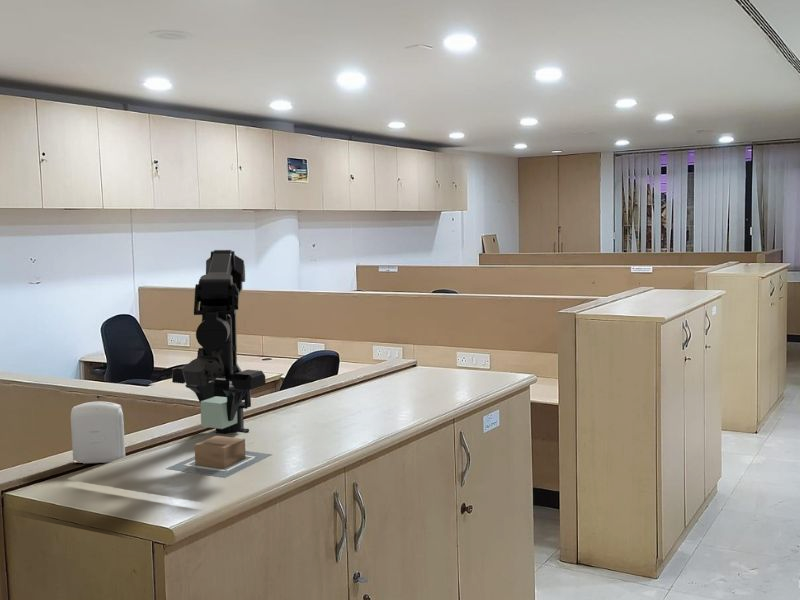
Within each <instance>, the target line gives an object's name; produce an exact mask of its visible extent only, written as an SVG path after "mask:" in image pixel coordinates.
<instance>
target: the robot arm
mask: <svg viewBox="0 0 800 600" xmlns="http://www.w3.org/2000/svg"><path fill="white" fill-rule="evenodd" d="M245 282H246V266H245V262H244V259H242V258H241V257H239V256H237V255H236V254H235V251H234V250H232V249H215V250H212V251H210V257H209V258H207V259H206V261H205V274H204V275H201V276H200V278H199V280H198V283H196V284H195V286H194V301H193V302H194V303H193V315H194V316H201V322H200V323H199V325H198V326H197V327H196V331H195V338H196V340H197V343H198V344H199V346H200V347H198V348H197V349H198V350H197V356H196V358H194V359H192V360H191V361H190V362H189V363H186V365H183V366H178V367H176V368H174V370H173V371H172V372H171V381H172V384H173V383H174V384H185V388H187V389H189V390H191V392H193V393H194V394H195V396H196V398H197V399H198V402H199V405H201V403H200V401H203V400H206V399H209V398H212V397H215V396H219V397H227V416H228V421H232V420H233V419H234V416H235V414H236V412H237V423H236V424H233V425H231V426H228V427H226V428H223V429H218V428H215V434H219V435H226V434H227V435H228V434H232V433H233V434H234V433H243V434H245V433H249V432H250V428H245V426H244V425H245V424H244V422H245V421H244V409H245V410H246V409H248V408H251V407H252V398H251V397H252V396H251V390H253V389H256V388H260V387H262V386H265V385H266V384H267V383H266V375H265V373H264V372H263V371H262V370H257V369H245V370H241V368H240V366H239V365H238V345H237V344H238V343H237V342H238V341H237V335H238V333H237V311H238V310H239V303H240V302H239V301H240V294H241V293H242V290H243V283H245Z"/></svg>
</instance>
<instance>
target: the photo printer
mask: <svg viewBox="0 0 800 600" xmlns="http://www.w3.org/2000/svg"><path fill="white" fill-rule="evenodd" d="M124 423H125V422H124V413H123V407H122V405H121V404H118V403H116V402H112V401H111V402H109V401H100V400H99V401H97V400H96V401H88V402H84V403H81V404H78V405H75V406H73V408H71V412H70V427H71V428H70V430H71V433H70V434H71V445H72V446H71V447H72V448H71V450H72V460H76V461H79V462H81V463H83V464H98V463H99V464H100V463H101V464H102V463H113V462H115V461H117V460H118V461H119V460H120V459H123V458H125V457H126V441H125V427H124V426H125V424H124Z"/></svg>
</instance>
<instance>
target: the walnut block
mask: <svg viewBox="0 0 800 600" xmlns="http://www.w3.org/2000/svg"><path fill="white" fill-rule="evenodd" d="M245 451H246V439H245V438H239V437H230V436H222V435H215V436H212V437H209V438H207V439H204V440H202V441H200V442H196V443H195V444H194V456H195V464H197V465H204V466H211V467H218V468H226V467H229V466H231V465H233V464H235V463H237V462H239V461H241V460H243V459H246V457H245Z"/></svg>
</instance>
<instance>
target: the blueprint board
mask: <svg viewBox="0 0 800 600" xmlns="http://www.w3.org/2000/svg"><path fill="white" fill-rule="evenodd" d="M271 456H273V454H272V453H264V452H257V451H249V450H245V457H246V459H243V460H241V461H239V462H237V463H235V464H233V465H231V466H229V467H226V468H218V467H211V466H204V465H197V464H195V455H194V456H192V457H190V458H187V459H185V460H182V461H179V462H178V463H176V464H174V465H171V466H169V467H166V468H165V470H171V471H178V472H184V473H190V474H197V475H204V476H209V477H211V476H212V477H215V478H216V477H218V478H224V479H226V478H228V477H230V476H232V475H235V474H236V473H239V472H240V471H243V470H244V469H247V468H249V467H250V466H252V465H255V464H256V463H259V462H260V461H263V460H265V459H267V458H269V457H271Z"/></svg>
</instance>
